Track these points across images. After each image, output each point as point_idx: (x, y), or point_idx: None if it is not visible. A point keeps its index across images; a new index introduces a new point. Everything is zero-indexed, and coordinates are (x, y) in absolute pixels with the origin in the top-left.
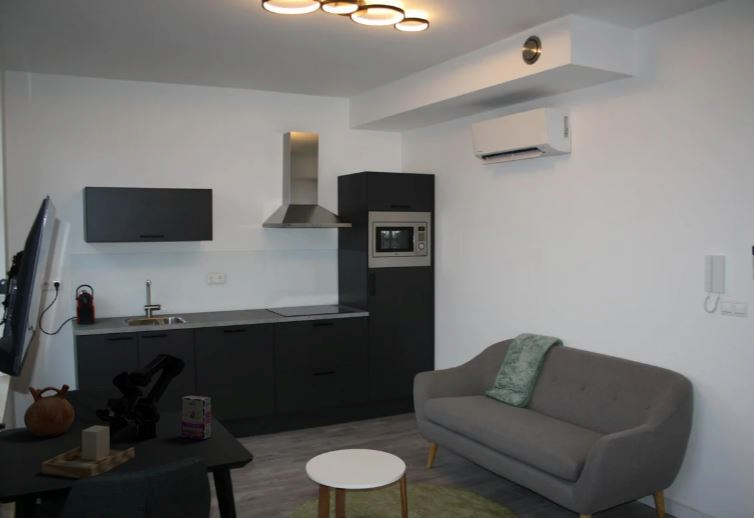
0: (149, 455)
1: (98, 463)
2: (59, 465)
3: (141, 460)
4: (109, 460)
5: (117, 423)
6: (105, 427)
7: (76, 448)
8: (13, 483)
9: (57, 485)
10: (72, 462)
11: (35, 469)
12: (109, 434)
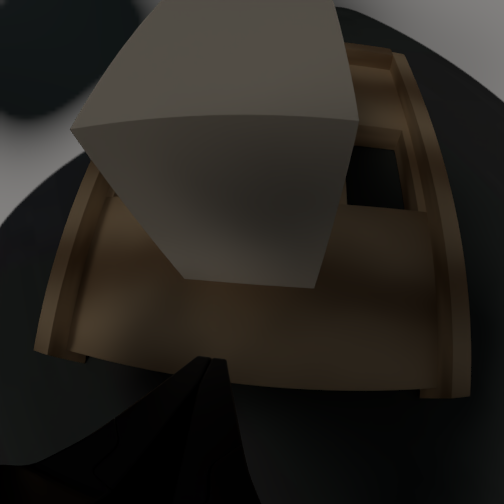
0: (18, 385)
1: None
2: None
3: (28, 304)
4: None
5: (66, 466)
6: (114, 90)
7: (451, 242)
8: (391, 35)
9: None
10: None
11: (451, 113)
12: (212, 368)
